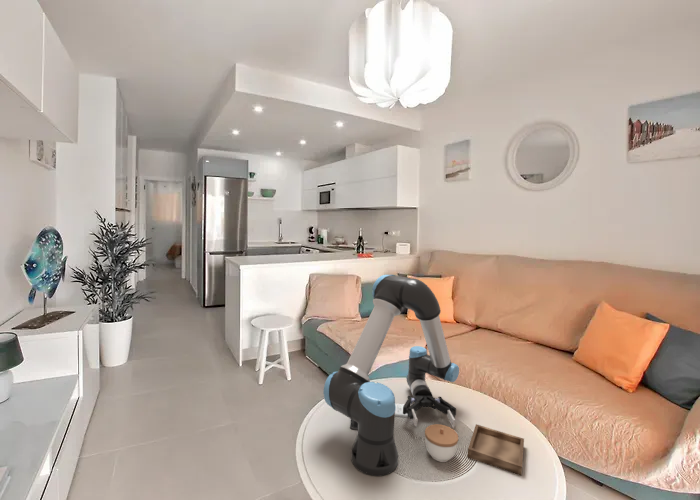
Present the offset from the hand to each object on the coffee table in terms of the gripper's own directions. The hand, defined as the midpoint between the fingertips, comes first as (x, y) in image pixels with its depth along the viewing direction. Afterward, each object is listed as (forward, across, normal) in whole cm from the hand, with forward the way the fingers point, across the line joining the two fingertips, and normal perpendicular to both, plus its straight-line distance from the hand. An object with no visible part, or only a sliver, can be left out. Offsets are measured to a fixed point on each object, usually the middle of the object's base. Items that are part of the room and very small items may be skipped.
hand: (435, 423), depth 121 cm
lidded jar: (+9, 0, -6) cm, 11 cm away
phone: (-12, +25, -6) cm, 29 cm away
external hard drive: (-18, +13, -7) cm, 23 cm away
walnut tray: (+6, -20, -6) cm, 21 cm away
